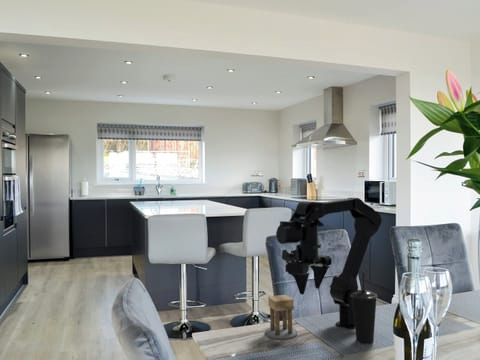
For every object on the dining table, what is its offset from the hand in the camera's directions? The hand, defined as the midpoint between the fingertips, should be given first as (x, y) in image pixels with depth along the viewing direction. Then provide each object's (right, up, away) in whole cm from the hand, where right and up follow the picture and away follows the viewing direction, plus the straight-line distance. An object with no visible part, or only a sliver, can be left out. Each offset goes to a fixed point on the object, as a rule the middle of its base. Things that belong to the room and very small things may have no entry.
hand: (309, 291), depth 132 cm
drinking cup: (+15, -13, -7) cm, 21 cm away
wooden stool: (-9, -13, 0) cm, 15 cm away
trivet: (-9, -13, 0) cm, 16 cm away
